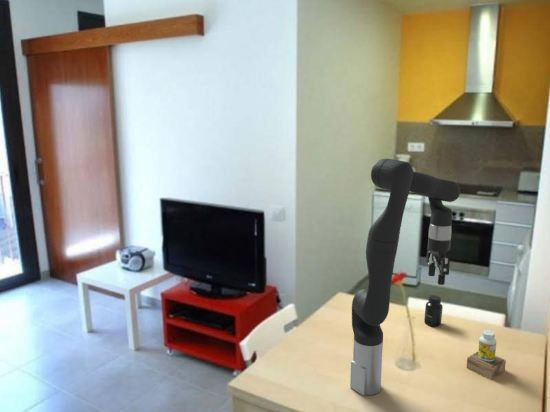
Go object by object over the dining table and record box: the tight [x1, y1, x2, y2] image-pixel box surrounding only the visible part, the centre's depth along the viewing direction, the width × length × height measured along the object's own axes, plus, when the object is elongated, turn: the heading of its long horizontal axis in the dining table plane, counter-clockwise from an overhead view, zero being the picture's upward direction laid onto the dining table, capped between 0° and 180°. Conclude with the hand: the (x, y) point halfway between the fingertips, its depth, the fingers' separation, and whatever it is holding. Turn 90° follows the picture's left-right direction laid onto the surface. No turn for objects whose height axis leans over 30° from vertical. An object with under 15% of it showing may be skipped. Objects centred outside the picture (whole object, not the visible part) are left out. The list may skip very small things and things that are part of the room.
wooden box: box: [466, 351, 507, 380], centre depth 162 cm, size 9×9×4 cm
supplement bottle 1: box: [424, 294, 443, 328], centre depth 195 cm, size 7×7×12 cm
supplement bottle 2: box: [477, 329, 497, 362], centre depth 161 cm, size 5×5×10 cm
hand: (436, 280), depth 167 cm, fingers open, 8 cm apart
